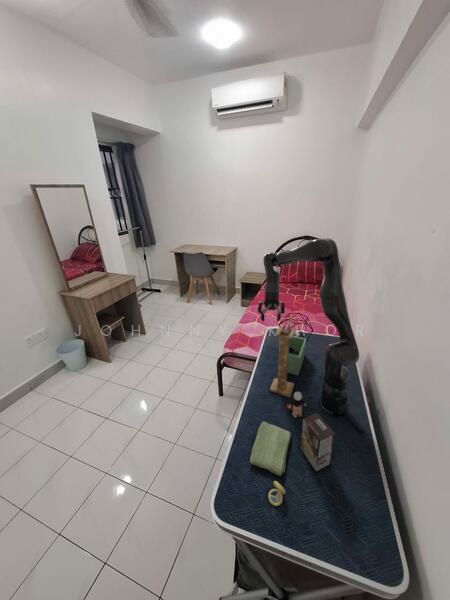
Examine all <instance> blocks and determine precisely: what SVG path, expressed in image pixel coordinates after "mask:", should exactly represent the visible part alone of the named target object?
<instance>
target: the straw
mask: <svg viewBox="0 0 450 600" xmlns="http://www.w3.org/2000/svg"><path fill="white" fill-rule="evenodd" d="M292 322H293V318H292V317H290V318H289V320H288V321H287V323H286V325H285V329H284V330H288V328H289V326H291V324H292ZM283 334H286V333H283Z"/></svg>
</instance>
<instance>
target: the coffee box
mask: <svg viewBox="0 0 450 600" xmlns="http://www.w3.org/2000/svg"><path fill="white" fill-rule="evenodd" d="M335 436H336V432H335V431H334V430H333V429H332V428H331V427H330V426H329V425H328V423H326V421H325V420H324V419H323V417H322V416H321V415H320V414H319V413H318V412H316V413H313V414H311V415H309V416H307V417H306V418H303V419H302V430H301V439H300V450H301V451H302V453H303V455H304V456H305V457H306V459H307V460H308V462H309V463H310V465H311V466H312V468H313V469H314V470H315V472H317V471H320V470H321V469H323V468H326V467H327V466H329V465H330V462H331V458H332V452H333V447H334V443H335Z"/></svg>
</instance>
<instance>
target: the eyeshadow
mask: <svg viewBox="0 0 450 600" xmlns="http://www.w3.org/2000/svg"><path fill="white" fill-rule="evenodd" d="M272 484H273V486H274V487H275V488H272V489H270V490H269V491H268V495H267V496H268V497H267V498H268V502H269V503H270V504H271V505H272V506H274V507H279V506H281V504H282V503H283V495H285V494H286V493H287V491H286V489H285V487H283V485H282V484H281V483H279V482H278V481H277V480H274V481H273V482H272Z"/></svg>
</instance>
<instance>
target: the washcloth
mask: <svg viewBox="0 0 450 600" xmlns="http://www.w3.org/2000/svg"><path fill="white" fill-rule="evenodd" d="M291 438H292V432H290V431H289V430H286V429H283V428H282V427H280V426H277V425H274V424H271V423H268V422H266V421H262V422H261V423H260V426H258V429H257V432H256V436H255V440H254V442H253V446H252V448H251V453H250V458H249V464H250V465H253V466H255V467H258V468H260V469H264V470H267V471H269V472H270V473H272V474H275V475H276V476H278V477H281V476H282V475H283V474H284V473H285V470H286V463H287V462H286V460H287V455H288V450H289V445H290V441H291Z"/></svg>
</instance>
